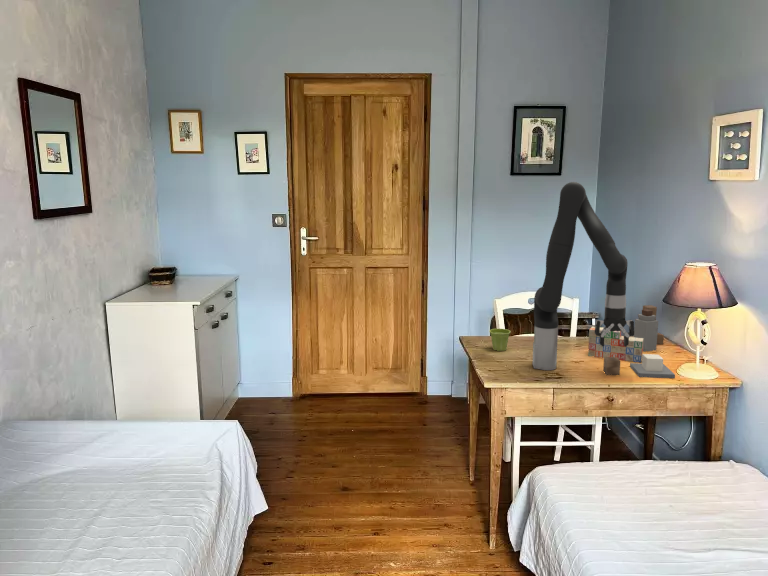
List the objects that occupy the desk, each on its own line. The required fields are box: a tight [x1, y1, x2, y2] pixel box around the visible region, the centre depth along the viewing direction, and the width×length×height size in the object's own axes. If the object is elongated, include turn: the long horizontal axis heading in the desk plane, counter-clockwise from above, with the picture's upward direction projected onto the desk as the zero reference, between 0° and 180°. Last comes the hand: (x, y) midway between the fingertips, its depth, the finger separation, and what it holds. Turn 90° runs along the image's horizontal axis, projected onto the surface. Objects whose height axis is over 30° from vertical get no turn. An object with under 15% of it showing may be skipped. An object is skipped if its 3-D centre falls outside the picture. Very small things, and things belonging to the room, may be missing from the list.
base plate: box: [629, 353, 676, 379], centre depth 225 cm, size 13×13×6 cm
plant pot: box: [489, 328, 511, 352], centre depth 259 cm, size 9×9×9 cm
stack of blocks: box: [587, 326, 644, 364], centre depth 245 cm, size 21×6×12 cm, turn 61°
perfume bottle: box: [633, 309, 659, 353], centre depth 256 cm, size 7×7×18 cm
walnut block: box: [602, 357, 621, 376], centre depth 224 cm, size 5×5×6 cm
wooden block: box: [642, 304, 665, 345], centre depth 265 cm, size 9×4×18 cm, turn 95°
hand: (613, 346), depth 223 cm, fingers open, 8 cm apart
